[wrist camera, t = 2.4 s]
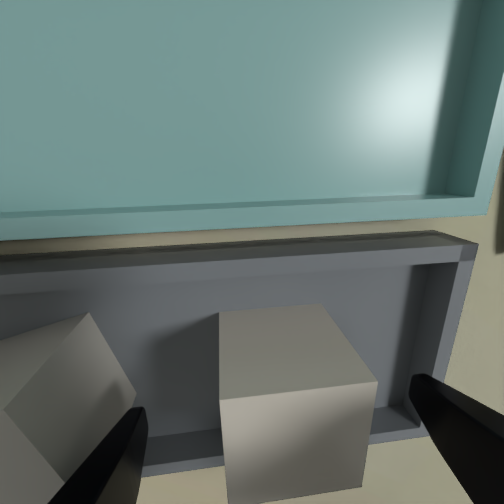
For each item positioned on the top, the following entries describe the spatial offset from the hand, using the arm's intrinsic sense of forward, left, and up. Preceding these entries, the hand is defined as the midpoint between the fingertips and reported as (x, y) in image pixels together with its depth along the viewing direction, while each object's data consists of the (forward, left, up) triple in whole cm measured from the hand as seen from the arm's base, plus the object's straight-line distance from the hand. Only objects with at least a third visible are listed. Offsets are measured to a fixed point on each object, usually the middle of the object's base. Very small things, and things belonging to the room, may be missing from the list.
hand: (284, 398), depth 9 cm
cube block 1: (0, 0, -2) cm, 2 cm away
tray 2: (0, +3, -3) cm, 4 cm away
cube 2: (0, +8, -2) cm, 8 cm away
